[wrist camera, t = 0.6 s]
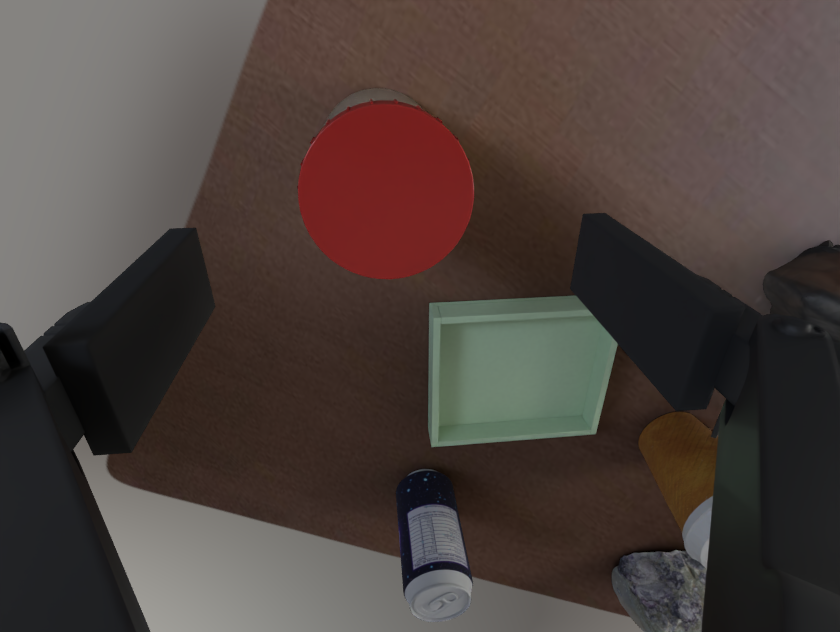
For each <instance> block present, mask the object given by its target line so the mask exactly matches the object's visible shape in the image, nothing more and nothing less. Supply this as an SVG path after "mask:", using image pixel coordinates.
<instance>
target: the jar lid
mask: <svg viewBox="0 0 840 632" xmlns="http://www.w3.org/2000/svg"><path fill="white" fill-rule="evenodd" d="M310 143H311V146H310V148H309V150H308V152H307V154H306V155H305V158H304V159H303V160H302V162H301V171H300V176H299V183H298V186H297V189H298V199H299V206H300V211H301V215H302V218H303V221H304V224H305V226H306V228H307V230H308V232H309V234H310V236H311V237H312V239H313V240H314V242H315V243H316V245H317V246H318V247H319V248H320V249H321V251H322V252H323V253H324V254H325V255H327V256H328V257H329V258H330V259H331V260H332V261H334V262H335V263H337V264H338V265H339V266H341V267H343V268H345V269H347V270H349V271H351V272H353V273H356V274H358V275H362V276H366V277H370V278H377V279H396V278H403V277H408V276H412V275H415V274H417V273H420V272H422V271H424V270H426V269H428V268H430V267H432V266H433V265H435V264H437V263H438V262H439V261H441V260H442V259H443V258H444V257H445V256H447V255H448V254H449V252H450V251H451V250H452V249H453V248H454V247H455V246H456V244H457V243H458V242H459V240H460V239H461V237H462V235H463V233H464V232H465V230H466V228H467V225H468V222H469V220H470V217H471V213H472V209H473V201H474V182H473V175H472V171H471V167H470V164H469V159H468V158H467V157H466V154H465V152H464V150H463V149H462V147H461V145H460V144H459V142H458V138H457V137H456V136H455V135H454V134H452V133H451V132H450V131H449V130H448V129H447V128H446V127H445V126H444V125H443V124H442V121H441V120H440V119H439V118H438V117H437V118H435V117H433V116H432V115H430V114H429V113H428V112H426V111H424V110H422V108H421V107H420V106H418V105H417V106H413V105H410V104H407V103H403V102H398V101H397V100H396V99H394V101H390V100H378V101H372V99H370V101H369V102H365V103H361V104H358V105H355V106H353V107H349V106H348V107H347V109H346V110H344V111H343V112H341V113H339V114H338V115H336V116H335V117H334V118H332V119H331V120H330V119H328V120H327V122H326V125H325V126H324V127H323V128H322V129H321V130H320V132H319V133H318V134H317V136H316V137H313V138H312V140H311V142H310Z"/></svg>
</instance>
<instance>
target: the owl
mask: <svg viewBox="0 0 840 632" xmlns="http://www.w3.org/2000/svg"><path fill="white" fill-rule="evenodd" d="M832 245H833V243H832V242H831V241H826V242H824V243H822V244H820V245H819V246H817V247H814V248H809V249H807V250H805V251H804V252H803V253H801V254H800V255H799V256H798V257H797V258H795V259H794V260H792V261H791V262H789V263H787V264H785V265H784V266H781V267H780V268H778V269H775V270H773V271H770V272H768V273H767V274H766V276H765V278H764V281H763V290H764V293H765V295H766V297H767V299H768V300H769V301H770V302H771V304H772V308H771V312H770V313H771V314H781V315H788V316H793V317H798V318H801V319H804V320H807V321H809V322H811V323H814V324H816V325H818V326H820V327H822V328H823V329H824V330H826V331H827V332H828V333H829V335H830V336H831V337H832V341H837V342H840V245H835V246H833V247H832Z"/></svg>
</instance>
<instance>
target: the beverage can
mask: <svg viewBox="0 0 840 632" xmlns="http://www.w3.org/2000/svg"><path fill="white" fill-rule="evenodd" d="M396 501H397V514H398V527H399V540H400V553H401V566H402V578H403V592H404V596H405V598H406V600H407V602H408V603H409V605H410V611H411V613H412V614H413V615H414V616H415V617H416V618H418V619H420V620H423V621H428V622H441V621H446V620H450V619H453V618H455V617H458V616H459V615H461V614H462V613H464V612H465V611H466V610H467V609H468V607H469V606H470V604H471V596H470V594H471V590H472V586H473V581H472V576H471V571H470V567H469V562H468V557H467V552H466V547H465V543H464V538H463V533H462V528H461V523H460V519H459V514H458V509H457V504H456V499H455V495H454V490H453V485H452V482H451V480H450V479H449V478H448V477H447V476H446V475H444V474H442V473H440V472H437V471H435V470H432V469H420V470H417V471H414V472H412V473H410V474H409V475H408V476H407V477H405V478H404V479H403V480H402V481H401V482H400V483H399V485H398V487H397V489H396Z"/></svg>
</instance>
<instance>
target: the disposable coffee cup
mask: <svg viewBox="0 0 840 632" xmlns="http://www.w3.org/2000/svg"><path fill="white" fill-rule="evenodd" d="M711 434H712V431H711V430H710V429H709V428H707V427H706V426H705V425H704V424H703V423H701V422H700V421H699V420H698V419H697V418H696V417H695V416H693V415H692V414H689V413H687V412H672V413H668V414H665V415H663V416H660V417H658V418H657V419H655V420H653V421H652V422H651V423H650V424H648V425H647V426H646V427H645V429H644V430H643V431H642V433H641V435H640V437H639V441H638V445H639V449H640V451H641V453H642V455H643V457H644V459H645V461H646V462H647V465H648V466H649V468H650V470H651V472H652V474H653V476H654V478H655V481H656V482H657V484H658V486H659V488H660V490H661V492H662V494H663V496H664V498H665V500H666V502H667V504H668V506H669V508H670V510H671V512H672V514H673V516H674V518H675V520H676V522H677V524H678V526H679V528H680V530H681V532H682V535H683V540H684V546H685V549H686V551H687V553H688V554H689V555H690V556H691V557H692V558H693V559H695V560H697V561H699V562H700V563H701V564H702V565H703V566H704V567H705V568H706V569H707V560H708V549H709V537H710V526H711V514H712V503H713V491H714V480H715V468H716V457H717V445H718V436H717V437H716V438H712V437H711Z"/></svg>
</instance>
